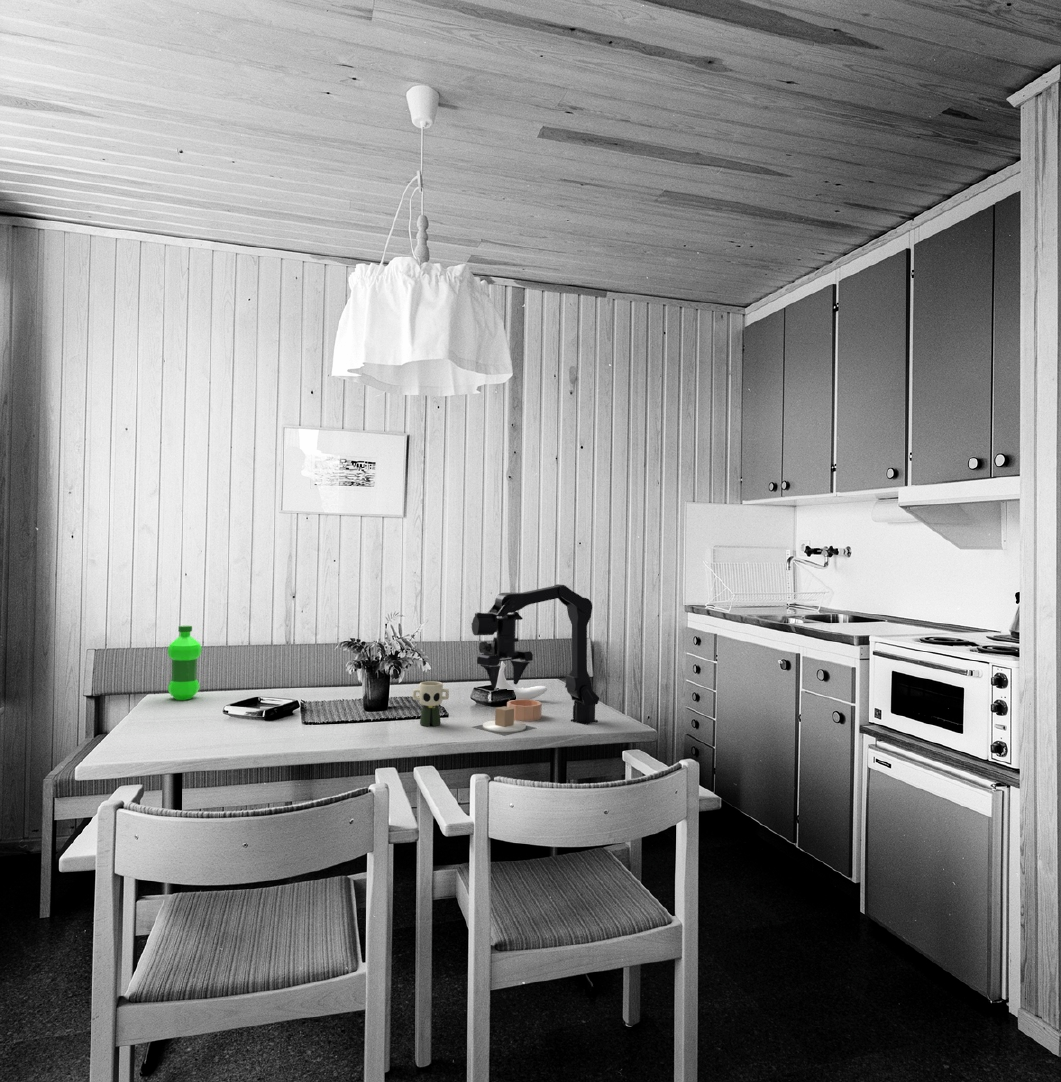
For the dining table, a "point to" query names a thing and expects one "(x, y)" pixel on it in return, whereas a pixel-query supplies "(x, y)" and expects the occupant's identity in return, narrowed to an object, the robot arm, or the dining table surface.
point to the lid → (504, 721)
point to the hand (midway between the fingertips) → (504, 686)
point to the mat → (503, 733)
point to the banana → (520, 693)
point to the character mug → (430, 701)
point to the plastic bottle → (184, 665)
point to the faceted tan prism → (526, 709)
